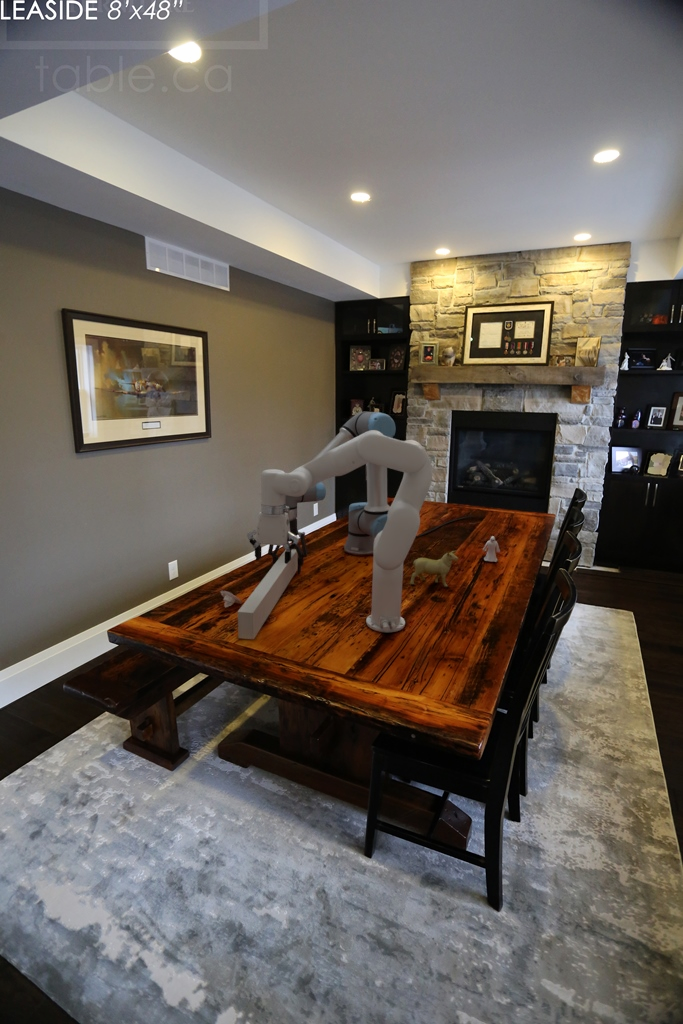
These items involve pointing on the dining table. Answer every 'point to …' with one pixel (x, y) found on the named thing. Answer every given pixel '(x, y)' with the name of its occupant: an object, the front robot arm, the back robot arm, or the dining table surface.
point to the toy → (434, 567)
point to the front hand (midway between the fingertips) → (272, 560)
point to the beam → (265, 596)
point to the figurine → (491, 550)
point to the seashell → (229, 598)
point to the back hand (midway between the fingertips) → (288, 571)
